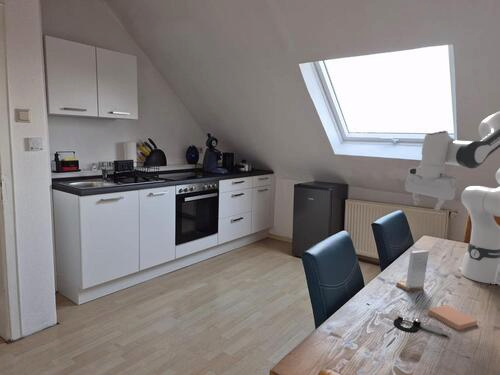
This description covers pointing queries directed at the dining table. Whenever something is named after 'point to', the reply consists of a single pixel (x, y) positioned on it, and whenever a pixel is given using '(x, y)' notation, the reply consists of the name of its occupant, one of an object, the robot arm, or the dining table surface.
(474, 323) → the tile
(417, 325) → the micrometer
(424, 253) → the bookend
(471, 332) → the dining table surface
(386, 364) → the dining table surface
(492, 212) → the robot arm
